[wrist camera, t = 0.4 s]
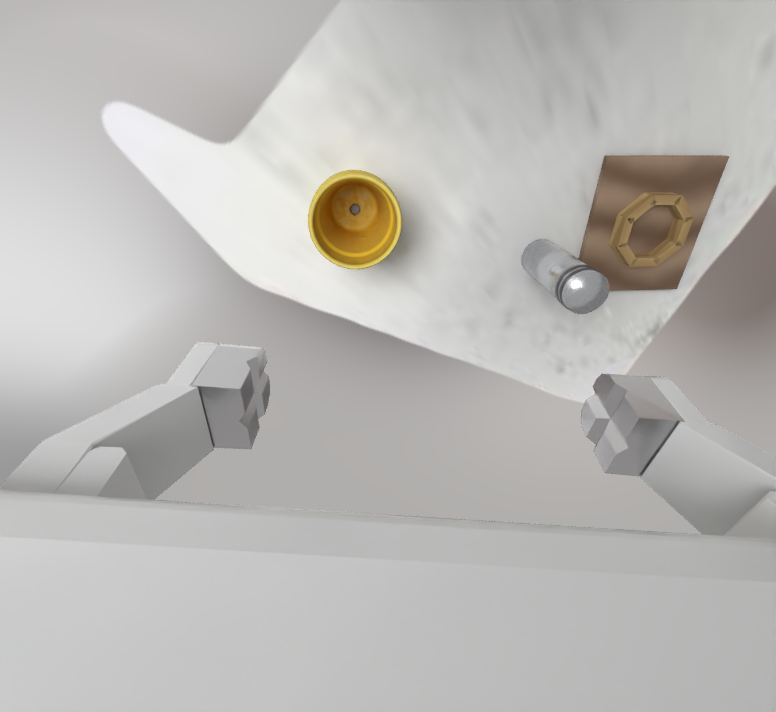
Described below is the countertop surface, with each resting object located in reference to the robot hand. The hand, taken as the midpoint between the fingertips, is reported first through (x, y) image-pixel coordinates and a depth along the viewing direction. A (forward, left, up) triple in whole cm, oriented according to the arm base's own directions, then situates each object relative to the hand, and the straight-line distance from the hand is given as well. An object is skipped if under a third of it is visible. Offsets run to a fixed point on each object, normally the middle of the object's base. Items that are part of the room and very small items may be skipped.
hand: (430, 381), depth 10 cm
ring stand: (+8, +38, -47) cm, 61 cm away
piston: (+12, +24, -47) cm, 54 cm away
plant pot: (+5, -2, -47) cm, 47 cm away
